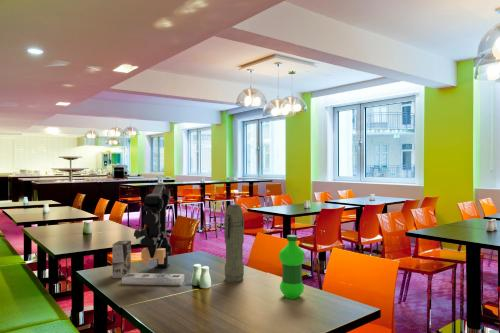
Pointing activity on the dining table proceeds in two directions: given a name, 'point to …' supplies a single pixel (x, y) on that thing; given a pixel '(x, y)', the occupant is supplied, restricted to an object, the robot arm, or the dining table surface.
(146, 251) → the tapered peach wedge
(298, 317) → the dining table surface
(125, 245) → the coffee box
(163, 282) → the rail
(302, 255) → the plastic bottle
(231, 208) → the thermos
